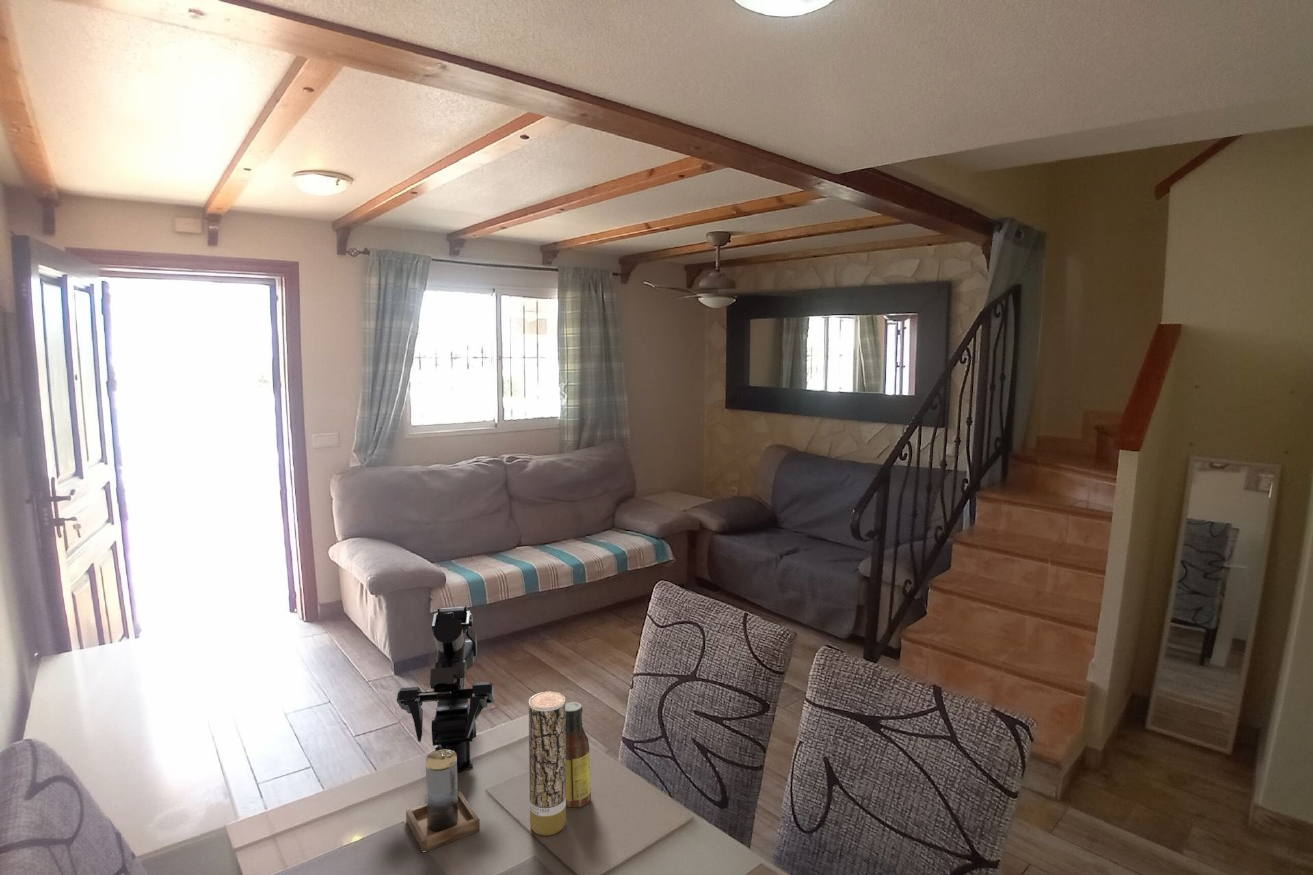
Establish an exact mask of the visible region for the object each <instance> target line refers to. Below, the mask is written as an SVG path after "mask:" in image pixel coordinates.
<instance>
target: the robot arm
mask: <svg viewBox="0 0 1313 875" xmlns="http://www.w3.org/2000/svg"><path fill="white" fill-rule="evenodd" d="M473 622H474V615H473V614H472V612H471V610H468V606H467V605H455V606H440V607H438V608H437V612H434V614H433V619H432V623H431V631H432V633H433V638H434V643H435V647H436V649H437V651H436V660H435V664H434V668H430V669H429V687H430V689H432V691H422V690H421V688H420V687H419V686H410V687H409V686H408V687H401V688H400V689H399V690H398V691H397V696H396V702H397V704H398V706H399V708H400V709H401V710H403V711H406V713H407V714H411V717H412V720H413V725H414V729H415V733H416V738H417V742H418V743H421V742H422V737H423V723H424V722H423V720H424V719H423V718H424V716H423V715H424V709H423V708H422V706H423V703H427V702H429V703H430V702H437V706H436V711H435V714H434V716H435V717H431V718H432V719H431V742H432V746H433V747H434V746H435V748H434V752H435V751H438V750H444V749H447V750H452V751H454V752H456V754H457V773H459V772H462V771H465V770H468V769H471V768H473V767H474V764H473V762H472V761H471V744H470V743H472V742H473V741H474V740H473V739H475V738H477V725H476V724H477V722H476V721H477V719H478V717H479V715H480V714H481V713H482V711H483V709H485V708H488V707H489V705H490V704H493V703H495V687H494V685H493V683H492V682H491V681H482V682H481V681H480V682H479V681H478V682H473V683H472V688H466V682H467V681H466V680H467V671H468V670H470V669H471V668H472V667H473V666H474V662H475V658H477V655H478V652H477V651H478V649H477V648H478V646H477V644H478V643H477V642H478V641H477V633H476V631H475V630H474V629H473ZM464 634H465V635H466V637H467V638H465V637H464Z"/></svg>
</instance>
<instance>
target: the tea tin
mask: <svg viewBox="0 0 1313 875" xmlns="http://www.w3.org/2000/svg"><path fill="white" fill-rule="evenodd" d="M425 783H426V784H425V785H426V786H425V787H426V803H427V827H428V829H429V830H430V831H433V832H441V831H443V830H446V829H448V828H451V827H453V826H455V825H456V824H457V822H458V792H459V791H458V772H457V754H456V752H454V751H452V750H447V749H444V750H438V751H435V750H434V751H433V752H431V753H430V754H428V755H427V757H425Z"/></svg>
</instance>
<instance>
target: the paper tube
mask: <svg viewBox="0 0 1313 875" xmlns="http://www.w3.org/2000/svg"><path fill="white" fill-rule="evenodd" d="M565 704H566V697H565V696H564V695H563V694H562V693H560V692H558V691H557V692H556V691H542V692H538V693H536V694H534V695H532V696H531V697H529V700H528V746H529V747H528V756H529V757H528V758H529V759H528V761H529V766H528V767H529V822H530V823H529V825H530V826H529V827H530V828H531V830H532V831H533V832H534V833H535V834H537V835H540V836H552V835H556V834H558V833H559V832H561V830H563V828H564V827H565V825H566V821H567V806H566V732H565Z"/></svg>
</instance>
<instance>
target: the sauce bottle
mask: <svg viewBox="0 0 1313 875" xmlns="http://www.w3.org/2000/svg"><path fill="white" fill-rule="evenodd" d="M582 714H583V705H582V704H581V703H580V702H578V701H570V702H565V732H566V807H570V808H572V809H573V808H575V809H576V808H580V807H584V806H585V805H587V804H588V803H589V802H590V801H591V797H592V795H591V794H592V778H591V775H592V774H591V758H590V754H591V753H590V744H589V738H588V736H587V734H586V732H585V730H584V727H583V719H582V717H583V715H582Z"/></svg>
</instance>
